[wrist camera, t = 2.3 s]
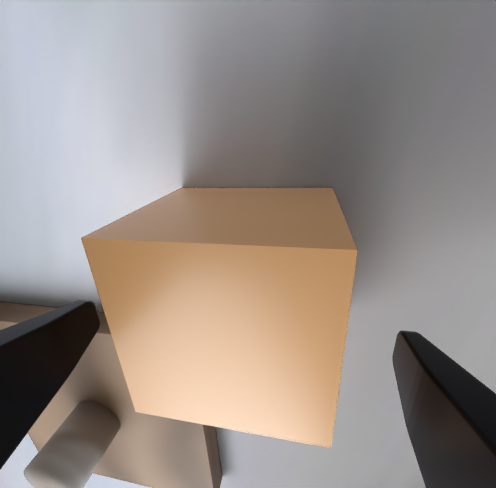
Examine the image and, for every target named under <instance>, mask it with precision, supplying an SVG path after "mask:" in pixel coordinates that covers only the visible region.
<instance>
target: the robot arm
mask: <svg viewBox="0 0 496 488" xmlns="http://www.w3.org/2000/svg"><path fill="white" fill-rule="evenodd" d="M99 327H100V319H99V316H98V313H97V310H96V306H95V304H94V303H93V302H92V301H87V300H78V301H75V302H73V303H70V304H67V305H65V306H62V307H59V308H57V309H54V310H52V311H49V312H46V313H44V314H41V315H38V316H36V317H33V318H31V319H28V320H25V321H23V322H20V323H17V324H15V325H12V326H9V327H7V328H4V329H2V330H0V469H1V468H2V467H3V465H4V464H5V463H6V461H7V460H8V458H9V457H10V456H11V454H12V453H13V452H14V450H15V449H16V448H17V446H18V445H19V444H20V442H21V441H22V440H23V438H24V437H25V436H26V434H27V433H28V431H29V430H30V429H31V427H32V426H33V425H34V423H35V422H36V421H37V419H38V418H39V417H40V415H41V414H42V413H43V411H44V410H45V408H46V407H47V406H48V404H49V403H50V402H51V400H52V399H53V398H54V396H55V395H56V394H57V392H58V391H59V390H60V388H61V387H62V385H63V384H64V383H65V381H66V380H67V379H68V377H69V376H70V374H71V373H72V371H73V370H74V368H75V367H76V365H77V364H78V362H79V360H80V359H81V357H82V356H83V354H84V352H85V351H86V349H87V348H88V346H89V344H90V343H91V341H92V339H93V338H94V336H95V335H96V333H97V331H98V330H99ZM393 366H394V371H395V376H396V380H397V385H398V390H399V395H400V399H401V404H402V409H403V413H404V418H405V422H406V426H407V430H408V433H409V437H410V440H411V443H412V446H413V449H414V452H415V455H416V458H417V461H418V464H419V467H420V471H421V474H422V477H423V480H424V483H425V486H426V488H496V394H495V393H494V392H493V391H492V390H490V389H489V388H488V387H487V386H485V385H484V384H483V383H482V382H480V381H479V380H478V379H476V378H475V377H474V376H473V375H471V374H470V373H469V372H468V371H466V370H465V369H464V368H462V367H461V366H460V365H459V364H457V363H456V362H455V361H454V360H452V359H451V358H450V357H448V356H447V355H446V354H445V353H443V352H442V351H441V350H440V349H438V348H437V347H436V346H434V345H433V344H432V343H431V342H429V341H428V340H427V339H426V338H424V337H423V336H422V335H421V334H419V333H417V332H411V331H400V332H399V333H398V335H397V339H396V343H395V347H394V352H393Z"/></svg>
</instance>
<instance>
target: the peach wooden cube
mask: <svg viewBox="0 0 496 488" xmlns="http://www.w3.org/2000/svg"><path fill="white" fill-rule="evenodd" d="M81 240H82V243H83V246H84V249H85V252H86V256H87V259H88V262H89V265H90V268H91V272H92V275H93V278H94V281H95V284H96V287H97V291H98V294H99V297H100V300H101V303H102V307H103V310H104V313H105V316H106V319H107V323H108V326H109V329H110V332H111V335H112V338H113V342H114V345H115V348H116V351H117V354H118V358H119V361H120V364H121V367H122V370H123V374H124V377H125V380H126V383H127V386H128V390H129V393H130V396H131V399H132V402H133V405H134V409H135V412H138V413H144V414H149V415H155V416H160V417H165V418H171V419H176V420H182V421H187V422H193V423H198V424H203V425H209V426H214V427H220V428H225V429H230V430H236V431H241V432H247V433H252V434H258V435H263V436H268V437H274V438H279V439H285V440H290V441H295V442H301V443H306V444H312V445H317V446H323V447H328V448H331V446H332V438H333V431H334V423H335V416H336V408H337V401H338V393H339V386H340V378H341V371H342V363H343V356H344V349H345V341H346V334H347V326H348V319H349V311H350V304H351V296H352V289H353V281H354V274H355V266H356V259H357V251H358V250H357V247H356V245H355V242H354V240H353V237H352V235H351V232H350V230H349V227H348V225H347V222H346V220H345V217H344V215H343V212H342V210H341V207H340V205H339V202H338V200H337V198H336V195H335V193H334V190H333V188H180V189H178V190H176V191H174V192H172V193H170V194H168V195H166V196H164V197H162V198H160V199H158V200H156V201H154V202H152V203H150V204H148V205H146V206H144V207H142V208H140V209H138V210H136V211H134V212H132V213H130V214H128V215H126V216H124V217H122V218H120V219H118V220H116V221H114V222H112V223H110V224H108V225H106V226H104V227H102V228H100V229H98V230H96V231H94V232H92V233H90V234H88V235H86V236H84V237H82V238H81Z"/></svg>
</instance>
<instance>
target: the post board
mask: <svg viewBox="0 0 496 488" xmlns="http://www.w3.org/2000/svg"><path fill="white" fill-rule="evenodd" d="M54 309H57V308H54V307H45V306H35V305H26V304H16V303H7V302H0V330H2V329H4V328H7V327H9V326H12V325H15V324H17V323H20V322H23V321H25V320H28V319H31V318H33V317H36V316H38V315H41V314H44V313H46V312H49V311H52V310H54ZM97 313H98V316H99V319H100V327H99V330H98V331H97V333H96V335H95V336H94V338H93V339H92V341H91V343H90V344H89V346H88V348H87V349H86V351H85V352H84V354H83V356H82V357H81V359H80V360H79V362H78V364H77V365H76V367H75V368H74V370H73V371H72V373H71V374H70V376H69V377H68V379H67V380H66V381H65V383H64V384H63V385H62V387H61V388H60V390H59V391H58V392H57V394H56V395H55V396H54V398H53V399H52V400H51V402H50V403H49V404H48V406H47V407H46V408H45V410H44V411H43V413H42V414H41V415H40V417H39V418H38V419H37V421H36V422H35V423H34V425H33V426H32V427H31V429H30V430H29V431H28V434H29V436H30V438H31V440H32V441H33V443H34V445H35V446H36V448H37V450H38V454H37V455H36V456H35V457H34V459H33V460H32V461H31V462H30V463H29V465H28V466H27V467H26V468H25V470H24V476H25V478H26V479H27V481H28V482H29V483H30V484H31V485H32V486H33V487H34V488H84V486H85V484H86V483H87V481H88V479H89V478H90V476H91V475H92V473H94V474H98V475H102V476H106V477H111V478H115V479H119V480H123V481H127V482H131V483H135V484H139V485H143V486H148V487H152V488H220V484H221V480H222V472H221V465H220V458H219V451H218V444H217V437H216V430H215V427H214V426H209V425H203V424H198V423H193V422H187V421H182V420H176V419H171V418H165V417H160V416H155V415H149V414H144V413H138V412H135V409H134V405H133V402H132V399H131V396H130V393H129V390H128V386H127V383H126V380H125V377H124V374H123V370H122V367H121V364H120V361H119V358H118V354H117V351H116V348H115V345H114V342H113V338H112V335H111V332H110V329H109V326H108V323H107V319H106V316H105V313H101V312H97Z"/></svg>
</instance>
